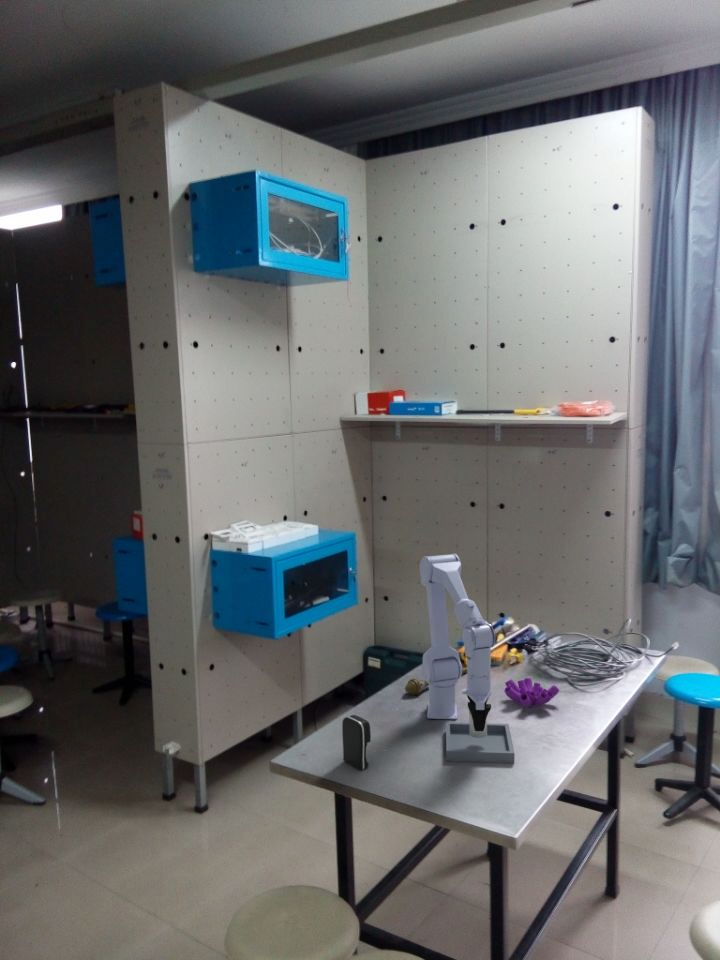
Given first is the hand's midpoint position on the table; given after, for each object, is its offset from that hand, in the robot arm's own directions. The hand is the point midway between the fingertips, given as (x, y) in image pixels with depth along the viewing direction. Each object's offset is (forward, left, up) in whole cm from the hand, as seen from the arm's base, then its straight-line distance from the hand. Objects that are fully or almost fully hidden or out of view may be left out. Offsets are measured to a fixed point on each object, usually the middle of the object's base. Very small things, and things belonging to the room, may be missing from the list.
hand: (478, 726), depth 188 cm
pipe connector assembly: (-27, +15, -6) cm, 31 cm away
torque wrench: (-43, -8, -6) cm, 44 cm away
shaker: (0, 0, -2) cm, 2 cm away
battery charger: (+11, -29, -6) cm, 32 cm away
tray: (0, 0, -5) cm, 5 cm away
